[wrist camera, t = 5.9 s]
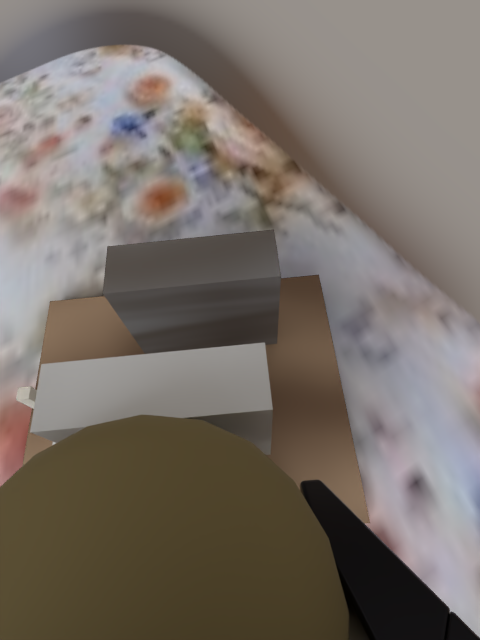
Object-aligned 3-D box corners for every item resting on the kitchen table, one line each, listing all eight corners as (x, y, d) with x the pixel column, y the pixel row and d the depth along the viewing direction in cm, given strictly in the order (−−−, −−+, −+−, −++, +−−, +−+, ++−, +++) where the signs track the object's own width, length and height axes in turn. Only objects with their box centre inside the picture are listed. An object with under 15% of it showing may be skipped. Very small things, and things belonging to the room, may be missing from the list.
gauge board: (365, 523, 15) (421, 520, 10) (19, 553, 15) (-120, 568, 10) (316, 283, 20) (335, 191, 15) (57, 309, 21) (-21, 228, 15)
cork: (113, 506, 14) (-205, 458, 5) (268, 444, 15) (270, 289, 5) (156, 720, 12) (-403, 1677, 2) (343, 631, 12) (626, 1005, 3)
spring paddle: (269, 477, 15) (273, 409, 6) (56, 497, 15) (-227, 456, 7) (263, 420, 16) (259, 294, 7) (63, 439, 16) (-172, 337, 8)
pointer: (101, 436, 16) (46, 406, 12) (62, 440, 16) (-6, 411, 12) (103, 412, 17) (50, 375, 13) (65, 416, 17) (1, 380, 13)
